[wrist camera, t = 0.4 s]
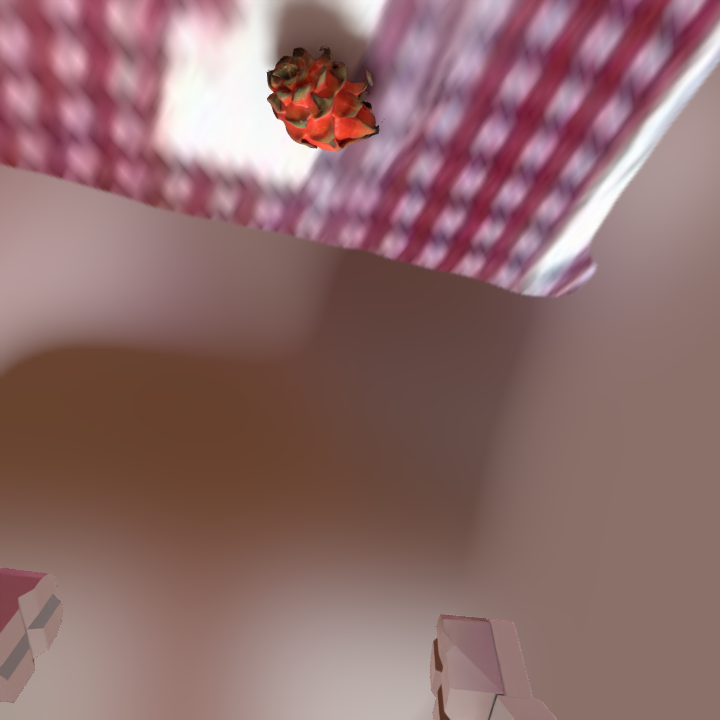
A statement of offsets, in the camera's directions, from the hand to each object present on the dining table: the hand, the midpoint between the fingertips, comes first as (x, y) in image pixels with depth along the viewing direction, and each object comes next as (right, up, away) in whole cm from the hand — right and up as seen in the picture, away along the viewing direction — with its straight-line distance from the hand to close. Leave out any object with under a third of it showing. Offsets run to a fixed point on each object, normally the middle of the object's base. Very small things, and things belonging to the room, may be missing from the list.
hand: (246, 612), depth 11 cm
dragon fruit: (-1, +33, +42) cm, 54 cm away
